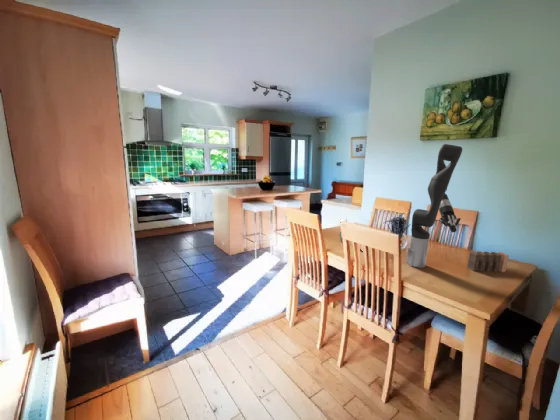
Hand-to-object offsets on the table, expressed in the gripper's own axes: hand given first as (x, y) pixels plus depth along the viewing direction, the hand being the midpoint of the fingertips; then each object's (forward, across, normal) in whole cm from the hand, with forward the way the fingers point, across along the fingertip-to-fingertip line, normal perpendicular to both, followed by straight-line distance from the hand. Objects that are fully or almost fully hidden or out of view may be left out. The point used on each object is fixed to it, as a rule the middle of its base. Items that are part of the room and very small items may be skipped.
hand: (454, 231), depth 162 cm
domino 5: (+22, +22, +5) cm, 31 cm away
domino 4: (+22, +18, +5) cm, 29 cm away
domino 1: (+22, +6, +5) cm, 23 cm away
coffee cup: (-11, -58, +37) cm, 70 cm away
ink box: (-22, -56, +49) cm, 78 cm away
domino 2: (+22, +10, +5) cm, 24 cm away
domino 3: (+22, +14, +5) cm, 26 cm away
